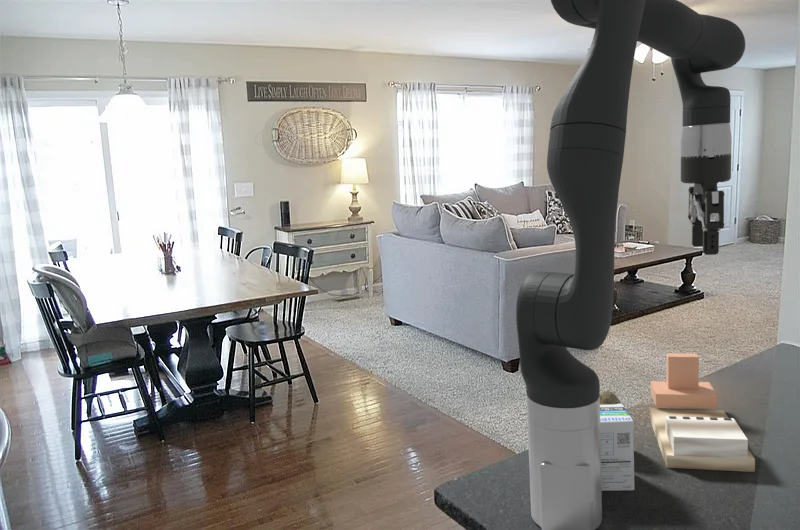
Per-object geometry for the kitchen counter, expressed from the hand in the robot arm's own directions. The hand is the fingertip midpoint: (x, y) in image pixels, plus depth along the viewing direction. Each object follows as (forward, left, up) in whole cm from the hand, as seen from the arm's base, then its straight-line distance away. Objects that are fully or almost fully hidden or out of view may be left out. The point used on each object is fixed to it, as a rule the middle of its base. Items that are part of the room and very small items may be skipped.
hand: (704, 250), depth 105 cm
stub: (+2, +3, -28) cm, 28 cm away
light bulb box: (-24, +20, -30) cm, 44 cm away
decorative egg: (-14, +17, -30) cm, 37 cm away
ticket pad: (-10, +3, -30) cm, 32 cm away
